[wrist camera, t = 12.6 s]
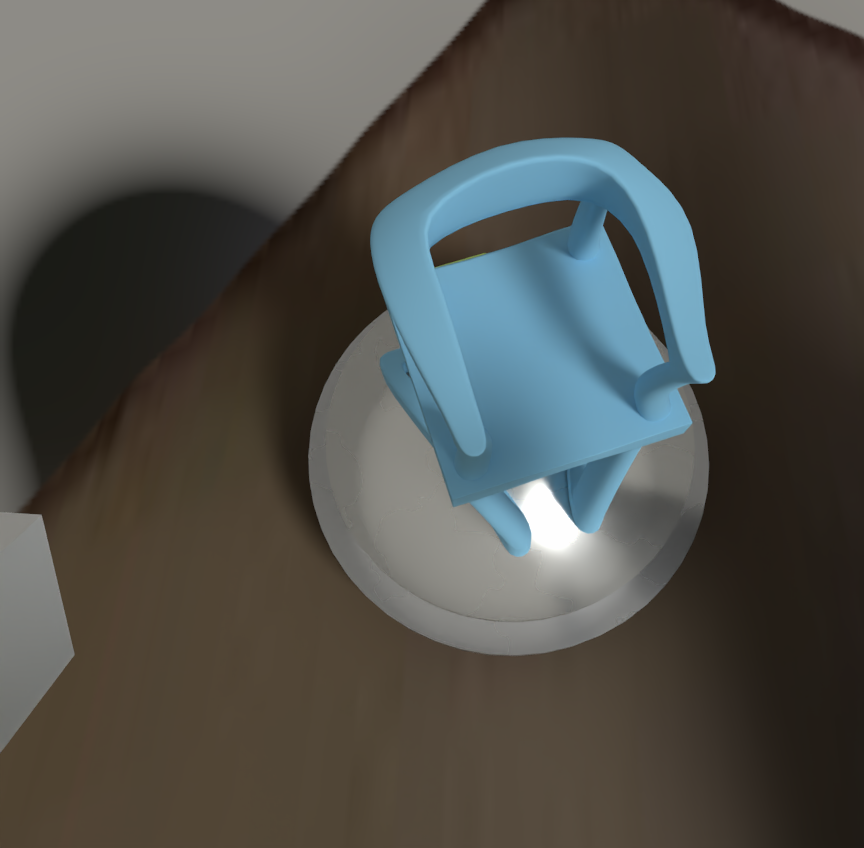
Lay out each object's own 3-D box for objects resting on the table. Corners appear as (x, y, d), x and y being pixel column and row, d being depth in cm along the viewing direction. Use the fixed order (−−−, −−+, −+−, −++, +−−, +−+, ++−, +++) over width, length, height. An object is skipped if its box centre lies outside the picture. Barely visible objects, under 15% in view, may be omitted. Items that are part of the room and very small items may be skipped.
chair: (448, 581, 25) (427, 503, 14) (378, 363, 28) (313, 147, 16) (664, 510, 26) (818, 377, 14) (576, 302, 28) (646, 50, 17)
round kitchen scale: (608, 270, 34) (629, 204, 29) (747, 592, 29) (799, 574, 24) (289, 363, 34) (258, 310, 29) (376, 708, 29) (356, 713, 24)
